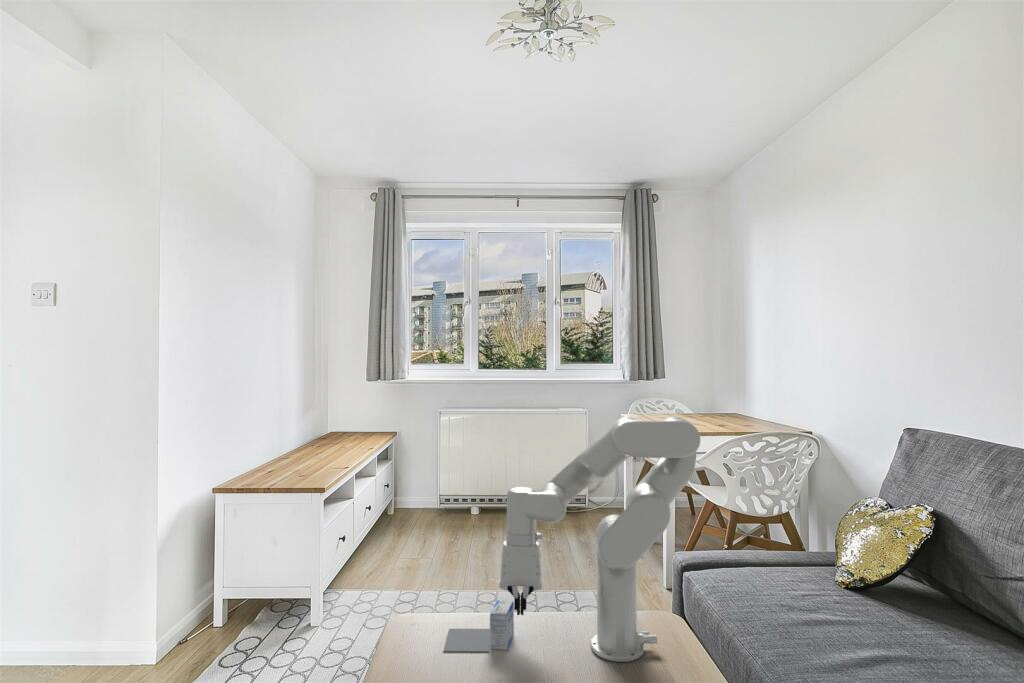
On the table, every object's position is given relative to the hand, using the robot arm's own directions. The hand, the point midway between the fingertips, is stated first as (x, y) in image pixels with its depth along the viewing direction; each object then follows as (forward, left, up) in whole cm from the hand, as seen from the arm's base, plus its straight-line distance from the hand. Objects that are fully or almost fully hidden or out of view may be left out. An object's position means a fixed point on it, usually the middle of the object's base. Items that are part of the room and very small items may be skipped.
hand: (520, 612), depth 133 cm
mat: (+13, 0, -7) cm, 15 cm away
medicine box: (+4, 0, -7) cm, 9 cm away
